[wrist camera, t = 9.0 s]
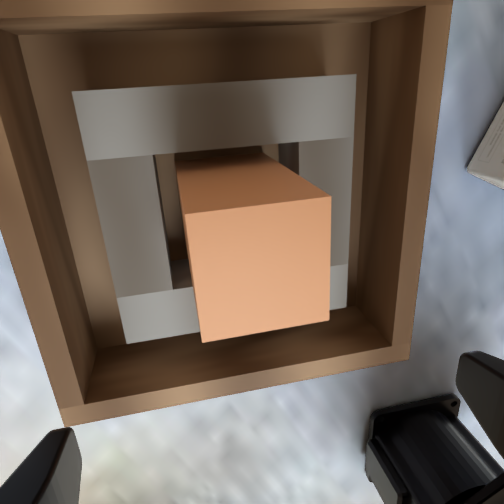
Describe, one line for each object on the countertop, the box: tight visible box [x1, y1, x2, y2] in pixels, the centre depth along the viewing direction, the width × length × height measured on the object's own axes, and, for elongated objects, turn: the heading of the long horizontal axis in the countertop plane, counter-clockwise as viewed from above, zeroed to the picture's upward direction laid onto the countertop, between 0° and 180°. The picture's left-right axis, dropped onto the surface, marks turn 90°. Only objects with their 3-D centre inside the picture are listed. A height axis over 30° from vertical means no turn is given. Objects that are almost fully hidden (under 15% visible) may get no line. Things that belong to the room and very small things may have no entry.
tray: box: [0, 0, 453, 427], centre depth 17 cm, size 16×16×4 cm
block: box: [174, 152, 331, 343], centre depth 15 cm, size 4×4×8 cm
